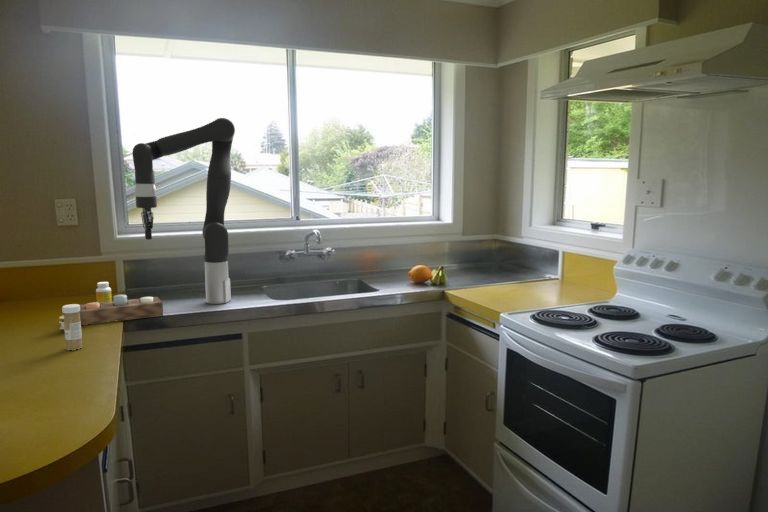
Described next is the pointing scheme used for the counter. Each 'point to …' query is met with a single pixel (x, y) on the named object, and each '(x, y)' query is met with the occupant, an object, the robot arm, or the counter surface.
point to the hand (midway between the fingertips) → (148, 239)
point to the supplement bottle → (103, 292)
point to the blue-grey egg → (120, 300)
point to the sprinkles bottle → (72, 326)
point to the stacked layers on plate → (62, 322)
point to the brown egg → (92, 305)
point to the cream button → (146, 299)
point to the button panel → (121, 311)
